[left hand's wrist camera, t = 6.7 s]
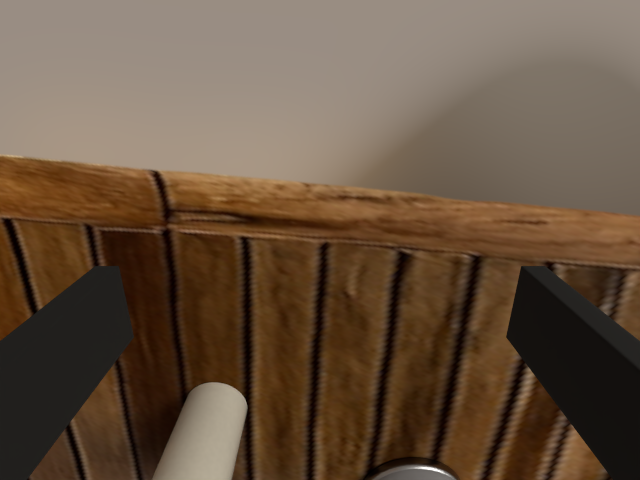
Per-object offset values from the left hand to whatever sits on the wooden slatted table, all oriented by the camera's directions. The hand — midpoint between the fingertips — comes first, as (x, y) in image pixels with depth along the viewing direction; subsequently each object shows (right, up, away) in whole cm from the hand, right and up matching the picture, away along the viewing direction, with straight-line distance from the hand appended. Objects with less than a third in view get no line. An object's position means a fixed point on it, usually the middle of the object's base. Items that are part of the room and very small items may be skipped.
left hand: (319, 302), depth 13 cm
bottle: (-14, -20, +38) cm, 45 cm away
